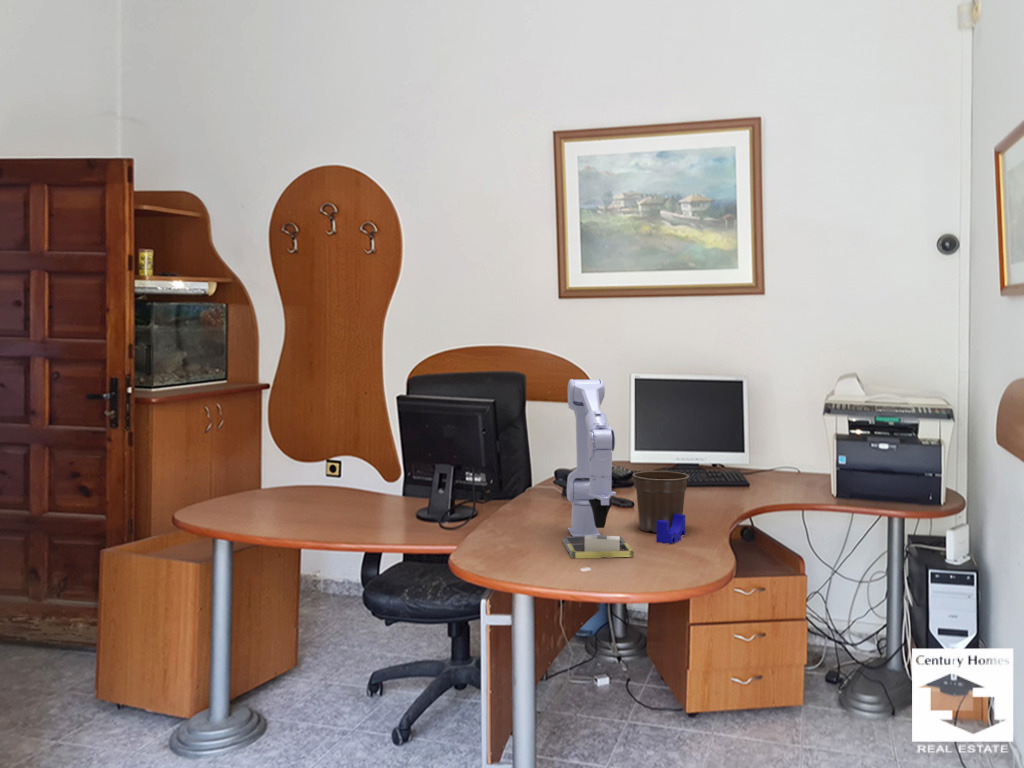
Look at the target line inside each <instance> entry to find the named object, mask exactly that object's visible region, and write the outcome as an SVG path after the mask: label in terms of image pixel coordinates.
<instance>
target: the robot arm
mask: <svg viewBox="0 0 1024 768" xmlns="http://www.w3.org/2000/svg"><path fill="white" fill-rule="evenodd" d="M605 393H606V389H605V382H604V380H603V379H601V378H600V379H573V378H570V379H569V381H568V384H567V405H568V409H570V410H572V411H573V412H574V416H575V440H576V445H575V446H576V448H575V449H576V468H575V469H574V470H572V471H571V472H570V473H569V474H567V480H566V481H567V482H566V497H567V500H568V502H570V503H571V527H567V530H568V531H569V533H570V535H571V537H585V535H596V536H598V535H601V534H600V532H599V531H598V529H605V525H606V521H607V518H608V513H609V511H610V508H611V507H612V505H613V502H612V500H611V498H612V496H617V492H616V491H613V490H612V489H613V488H612V482H613V481H612V479H613V478H612V476H613V452H614V451H615V449H616V448H615V447H616V435H615V430H614V429H613V428H612V427H610V426H609V423H608V418H607V415H606V413H605V412H604V411H602V410H601V406H602V403H603V401H604V399H605Z"/></svg>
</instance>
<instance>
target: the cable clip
mask: <svg viewBox="0 0 1024 768" xmlns="http://www.w3.org/2000/svg"><path fill="white" fill-rule="evenodd" d="M655 534H656V537H655V538H656V539H655V542H656V543H659V542H662V544H665V543H669V544H668V545H673V544H672V543H674V542H676V543H678V542H680V541H682V537H681V536H682V535H685V536H686V515H685V514H683V515H681V514H674V515H673V522H672V526H671V528H670V527H669V521H663V520H658V521H657V533H655ZM679 540H680V541H679ZM677 541H678V542H677ZM674 544H675V543H674Z"/></svg>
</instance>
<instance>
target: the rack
mask: <svg viewBox="0 0 1024 768" xmlns="http://www.w3.org/2000/svg"><path fill="white" fill-rule="evenodd" d="M563 543H564V544H563ZM562 544H563V545H565V546H564V548H565V549H566V551H567V552H569V553H568V554H570V555H569V557H570V556H571V557H570V559H602V558H601V557H634V555H635V554H634V553H635V552H634V549H632V547H631V545H630V544H628V542H626V541H625V540H624V539H623V538H622V536H620V549H624V550H620V551H586V552H584V549H585V537H573V536H562Z"/></svg>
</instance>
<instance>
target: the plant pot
mask: <svg viewBox="0 0 1024 768" xmlns="http://www.w3.org/2000/svg"><path fill="white" fill-rule="evenodd" d="M632 477H633V481H634V487H635V488H634V489H635V490H636V491H635V492H636V501H637V502H636V503H637V513H638V523H639V524H638V526H639V529H640V530H641V531H643V532H647V533H648V532H653V534H656V533H657V521H658V520H663V521H669V527H670V528H671V526H672V522H673V515H674V514H681V515H684V514H683V512H684V505H685V504H684V503H685V497H686V496H685V494H686V490H687V486H688V479H689V478H690V475H689V474H687V473H684V472H678V471H669V470H667V471H666V470H647V471H638V472H634V473H632Z"/></svg>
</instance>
